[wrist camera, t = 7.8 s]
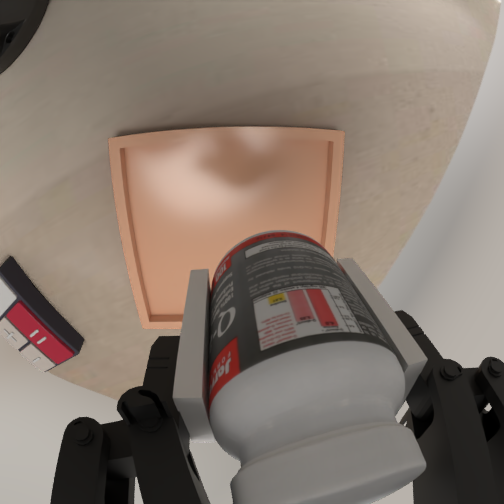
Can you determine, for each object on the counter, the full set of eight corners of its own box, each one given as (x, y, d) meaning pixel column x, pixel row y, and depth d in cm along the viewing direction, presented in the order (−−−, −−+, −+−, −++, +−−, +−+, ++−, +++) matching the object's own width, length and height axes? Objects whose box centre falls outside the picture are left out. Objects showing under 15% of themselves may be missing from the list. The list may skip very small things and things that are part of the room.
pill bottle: (197, 238, 12) (168, 502, 3) (331, 215, 12) (491, 411, 3) (225, 339, 14) (239, 533, 6) (332, 318, 15) (409, 491, 6)
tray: (116, 136, 22) (108, 138, 21) (336, 129, 24) (344, 131, 22) (146, 317, 31) (142, 328, 29) (317, 309, 33) (322, 319, 31)
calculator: (42, 376, 31) (-29, 307, 24) (51, 356, 35) (-15, 289, 28) (78, 358, 29) (-6, 272, 22) (87, 334, 33) (11, 253, 26)
